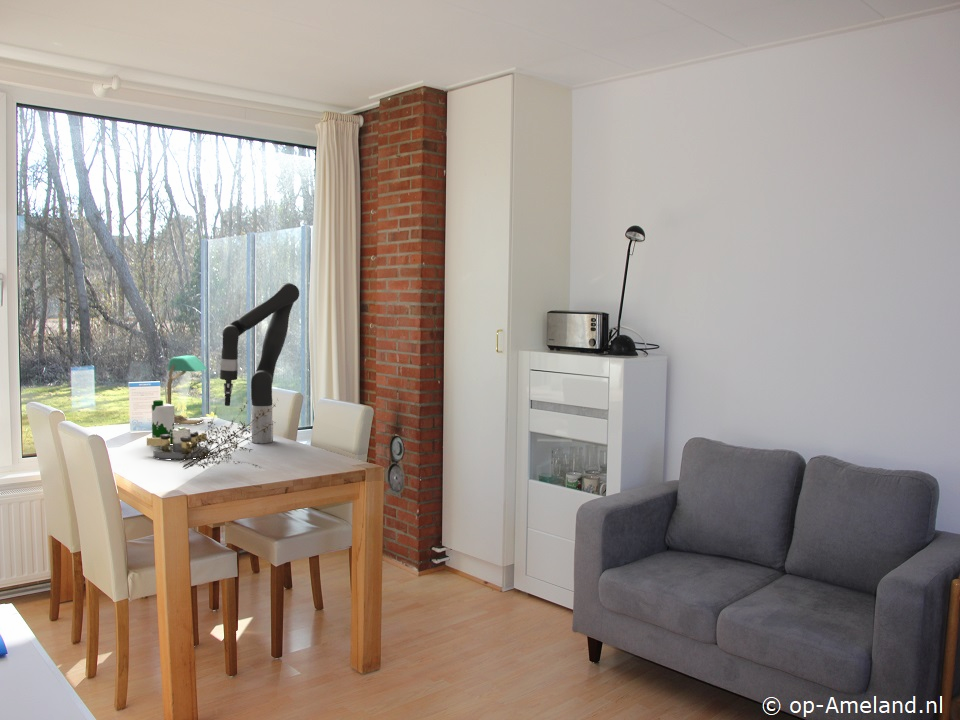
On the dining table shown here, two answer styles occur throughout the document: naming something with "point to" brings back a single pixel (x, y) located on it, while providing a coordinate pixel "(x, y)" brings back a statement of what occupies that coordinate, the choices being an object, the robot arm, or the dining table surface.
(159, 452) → the base
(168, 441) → the knob front
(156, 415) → the milk carton
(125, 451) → the dining table surface
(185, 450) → the knob left
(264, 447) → the dining table surface
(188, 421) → the banker's lamp
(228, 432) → the dried plant
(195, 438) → the knob near
